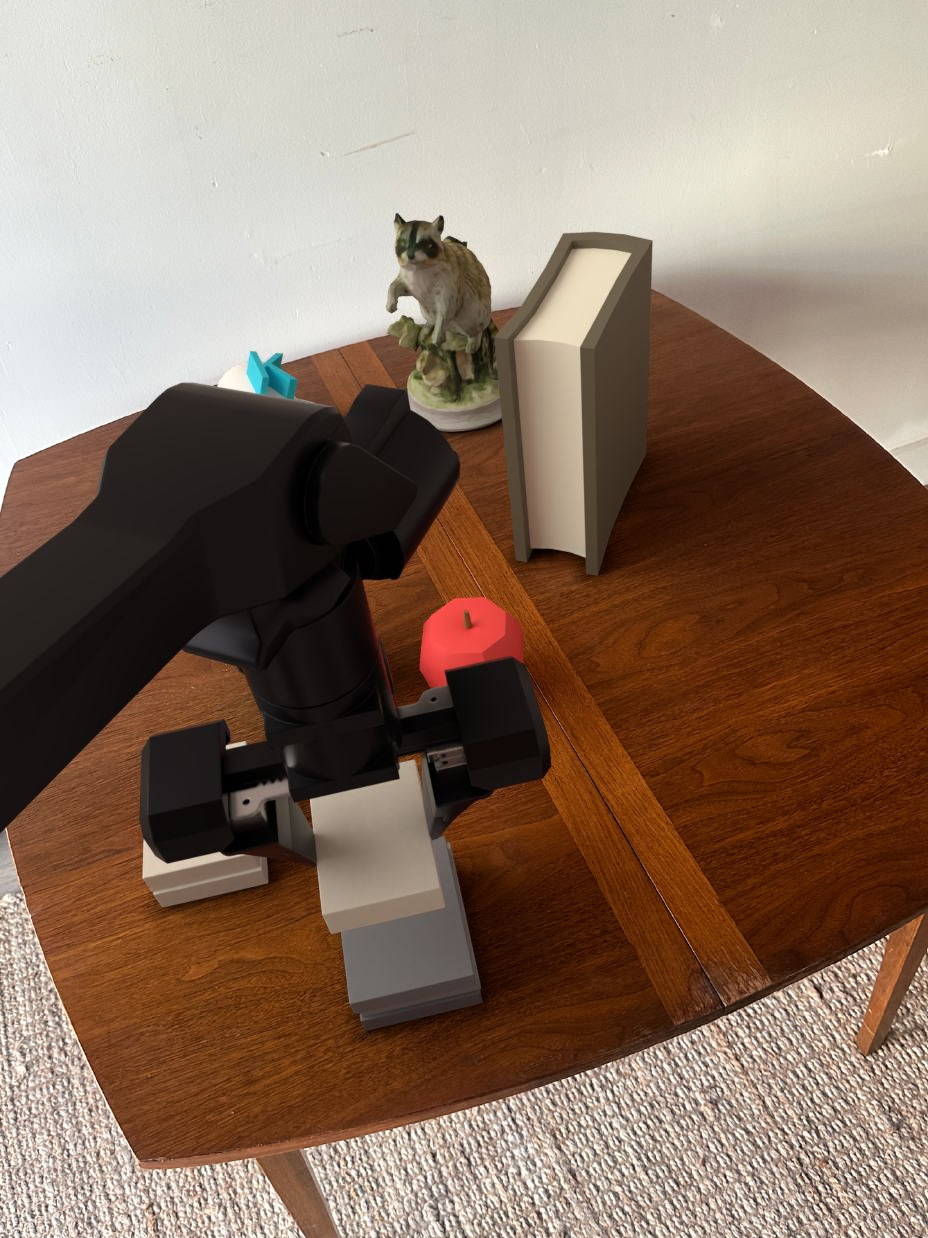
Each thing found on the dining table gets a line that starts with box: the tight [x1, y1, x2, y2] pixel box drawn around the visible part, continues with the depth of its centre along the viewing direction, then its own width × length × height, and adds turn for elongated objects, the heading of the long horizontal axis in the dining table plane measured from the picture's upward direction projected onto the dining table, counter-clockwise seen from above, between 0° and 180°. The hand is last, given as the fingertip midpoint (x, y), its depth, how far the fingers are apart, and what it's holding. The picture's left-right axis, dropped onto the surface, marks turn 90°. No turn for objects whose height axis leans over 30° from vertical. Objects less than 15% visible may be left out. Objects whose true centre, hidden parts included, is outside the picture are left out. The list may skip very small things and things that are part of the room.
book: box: [494, 231, 654, 577], centre depth 80 cm, size 16×7×21 cm, turn 159°
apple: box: [419, 596, 525, 689], centre depth 73 cm, size 8×8×8 cm
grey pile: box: [340, 835, 484, 1032], centre depth 61 cm, size 9×7×4 cm
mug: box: [216, 350, 314, 403], centre depth 95 cm, size 12×9×12 cm
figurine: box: [385, 212, 502, 433], centre depth 93 cm, size 12×14×20 cm
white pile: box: [142, 740, 269, 908], centre depth 68 cm, size 9×7×4 cm
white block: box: [309, 759, 445, 935], centre depth 54 cm, size 8×6×2 cm
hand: (375, 845), depth 54 cm, fingers closed on white block, 6 cm apart
